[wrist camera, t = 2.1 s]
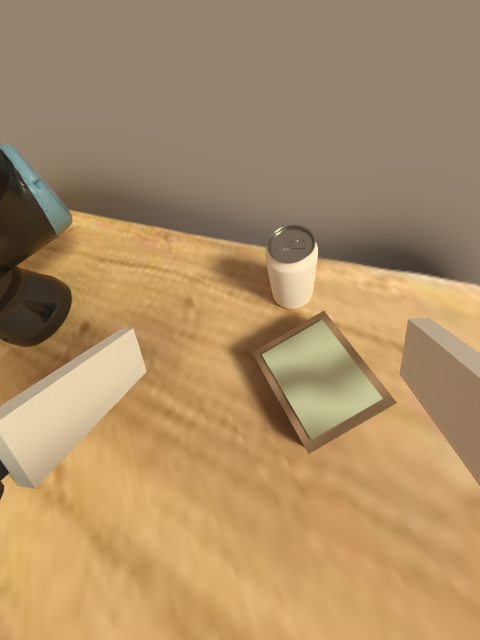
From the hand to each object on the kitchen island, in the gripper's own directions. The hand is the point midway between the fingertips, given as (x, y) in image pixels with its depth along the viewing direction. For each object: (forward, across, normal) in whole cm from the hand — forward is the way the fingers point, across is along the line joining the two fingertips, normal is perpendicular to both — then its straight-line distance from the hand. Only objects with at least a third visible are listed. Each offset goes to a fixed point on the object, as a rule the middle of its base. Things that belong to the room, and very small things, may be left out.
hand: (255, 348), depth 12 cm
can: (+28, +2, -5) cm, 29 cm away
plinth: (+18, +4, -15) cm, 24 cm away
